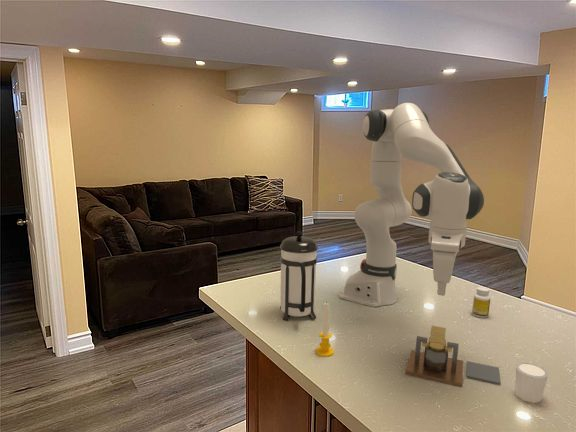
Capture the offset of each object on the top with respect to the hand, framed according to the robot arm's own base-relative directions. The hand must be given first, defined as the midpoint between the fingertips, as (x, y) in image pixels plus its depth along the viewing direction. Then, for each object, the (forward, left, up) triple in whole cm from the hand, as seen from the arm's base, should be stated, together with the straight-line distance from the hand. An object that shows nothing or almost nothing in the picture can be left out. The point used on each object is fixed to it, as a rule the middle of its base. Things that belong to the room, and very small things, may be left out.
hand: (442, 288), depth 110 cm
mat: (+12, +3, -23) cm, 26 cm away
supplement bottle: (+12, +44, -23) cm, 51 cm away
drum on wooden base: (0, 0, -23) cm, 23 cm away
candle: (-30, -4, -23) cm, 38 cm away
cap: (0, 0, -17) cm, 17 cm away
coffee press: (-46, +16, -23) cm, 54 cm away
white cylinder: (+22, -3, -23) cm, 32 cm away
